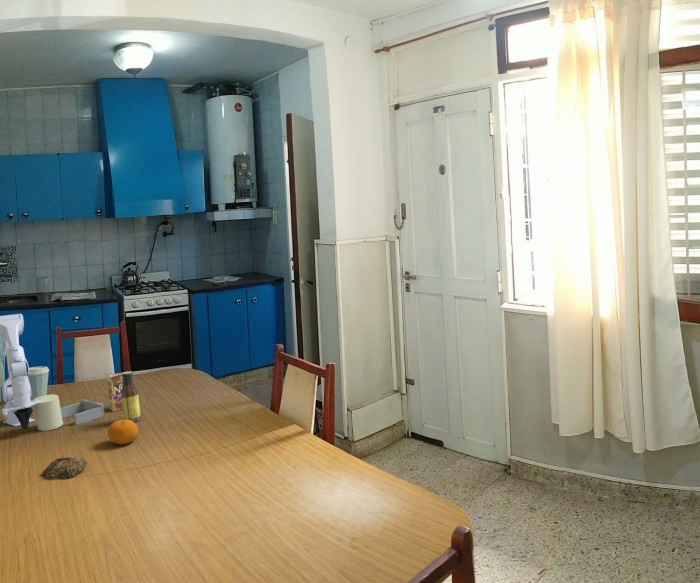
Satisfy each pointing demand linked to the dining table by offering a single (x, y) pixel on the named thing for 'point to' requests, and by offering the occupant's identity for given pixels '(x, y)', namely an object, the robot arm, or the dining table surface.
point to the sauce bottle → (130, 398)
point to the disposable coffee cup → (38, 381)
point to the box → (83, 411)
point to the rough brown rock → (65, 467)
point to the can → (48, 412)
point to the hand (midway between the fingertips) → (24, 427)
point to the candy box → (115, 391)
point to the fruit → (122, 431)
